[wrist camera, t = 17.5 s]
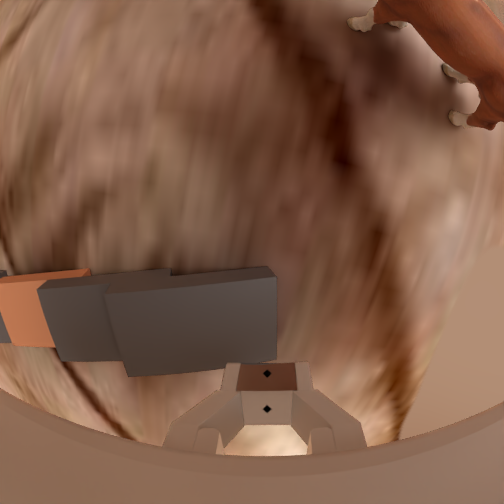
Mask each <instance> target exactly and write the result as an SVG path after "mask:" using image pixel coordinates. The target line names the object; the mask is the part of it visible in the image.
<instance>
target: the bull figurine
mask: <svg viewBox="0 0 504 504" xmlns="http://www.w3.org/2000/svg"><path fill="white" fill-rule="evenodd" d="M386 22H388V23H389V24H390V25H392V26H397V27H398V28H399V29H401V28H403V27H407V22H408V23H410V24H412V25H413V27H414V28H415V29H416V31H417V32H418V33H419V34H420V35H421V37H422V38H423V39H424V40H425V41H426V43H427V44H428V45H429V46H430V48H431V49H432V50H433V51H434V52H435V53H436V54H437V55H438V56H439V57H440V58H441V59H442V60H443V61H444V62H445V63H444V64H443V70H444V72H445V74H446V75H448V76H449V77H453V78H457V79H458V82H459V83H460V84H462V83H472V84H474V85H475V86H476V87H477V89H478V91H479V98H480V99H481V101H480V104H479V106H478V107H477V110H476V111H475V112H474V113H472V114H462V113H460V112H458V111H455V110H451V111H450V113H449V119H450V121H451V123H452V124H454V125H456V126H461V125H462V126H463V127H464V129H468V128H470V127H480V128H485V129H488V130H493V129H494V127H495V125H496V124H497V123H498V122H500V121H502V122H504V25H503V24H502V23H501V22H500V20H499V19H498V18H497V17H496V16H495V15H494V13H493V12H492V11H491V10H490V8H489V7H488V6H487V5H486V4H485V3H484V2H483V1H482V0H378V2H377V4H376V6H375V7H373V8H371V9H369V11H368V13H367V15H366V16H362V17H351V18H349V19H348V20H347V24H348V26H349V27H350V28H351V29H353V30H356V31H358V30H362V31H363V32H366V31H370V30H371V29H372V26H373V25H374V24H383V23H386Z"/></svg>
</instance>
